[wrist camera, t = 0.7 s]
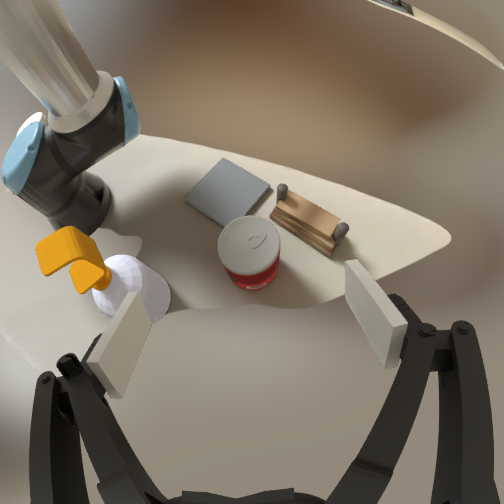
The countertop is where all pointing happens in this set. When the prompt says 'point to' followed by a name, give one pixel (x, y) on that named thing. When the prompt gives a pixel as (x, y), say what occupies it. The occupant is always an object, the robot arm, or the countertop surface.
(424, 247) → the countertop surface
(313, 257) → the countertop surface
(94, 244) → the soap bottle
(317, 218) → the offcut rack
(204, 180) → the slate mat
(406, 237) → the countertop surface
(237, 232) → the canned food
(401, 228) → the countertop surface
